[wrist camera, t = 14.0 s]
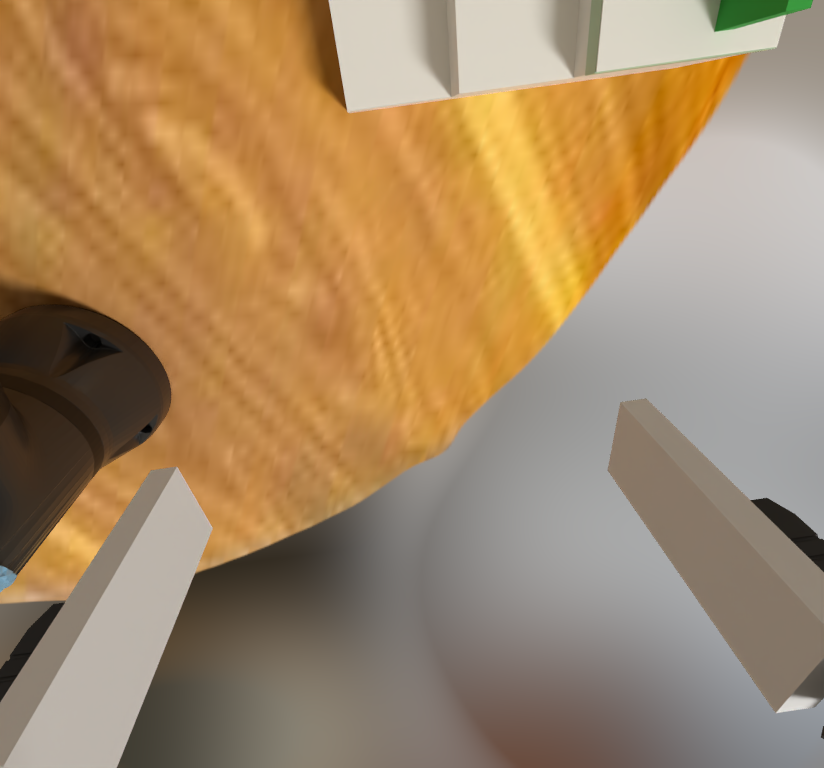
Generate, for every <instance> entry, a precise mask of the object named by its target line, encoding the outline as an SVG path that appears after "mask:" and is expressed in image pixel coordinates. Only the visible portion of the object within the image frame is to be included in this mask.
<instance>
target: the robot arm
mask: <svg viewBox="0 0 824 768" xmlns="http://www.w3.org/2000/svg"><path fill="white" fill-rule="evenodd" d="M170 403H171V388H170V383H169V379H168V376H167V374H166V372H165V370H164V368H163V366H162V364H161V362H160V361H159V359H158V358H157V357H156V355H155V354H154V353H153V352H152V350H151V349H150V348H149V347H148V346H147V345H146V344H145V343H144V342H143V341H142V340H141V339H139V338H138V337H137V336H136V335H135V334H133V333H132V332H131V331H129V330H128V329H126V328H125V327H123V326H122V325H120V324H118V323H116V322H115V321H113V320H111V319H109V318H106V317H104V316H102V315H100V314H97V313H94V312H91V311H88V310H85V309H81V308H77V307H72V306H65V305H38V306H32V307H28V308H25V309H22V310H19V311H17V312H15V313H13V314H11V315H9V316H7V317H5V318H3V319H1V320H0V592H1V591H2V590H3V589H4V588H7V587H8V586H10V585H11V584H12V583H13V582H14V581H15V579H16V577H17V575H18V573H19V572H20V571H21V570H22V568H23V567H24V566H25V564H26V563H27V562H28V561H29V559H30V558H31V557H32V555H33V554H34V553H35V552H36V550H37V549H38V548H39V546H40V545H41V544H42V543H43V541H44V540H45V539H46V537H47V536H48V535H49V534H50V532H51V531H52V530H53V528H54V527H55V526H56V524H57V523H58V522H59V521H60V519H61V518H62V517H63V515H64V514H65V513H66V512H67V510H68V509H69V508H70V506H71V505H72V504H73V503H74V501H75V500H76V499H77V497H78V496H79V495H80V494H81V492H82V491H83V490H84V488H85V487H86V486H87V485H88V483H89V482H90V480H91V479H92V478H93V477H94V476H95V474H96V473H97V472H98V471H99V469H101V468H102V467H104V466H106V465H107V464H109V463H111V462H112V461H114V460H116V459H117V458H119V457H121V456H122V455H124V454H126V453H127V452H129V451H131V450H132V449H134V448H136V447H137V446H139V445H141V444H142V443H143V442H145V441H146V440H147V439H148V438H149V437H150V436H151V435H152V434H153V433H154V432H155V431H156V429H157V428H158V427H159V425H160V424H161V423H162V421H163V420H164V418H165V417H166V415H167V413H168V411H169V408H170ZM608 471H609V473H610V474H611V476H612V477H613V479H614V480H615V482H616V483H617V485H618V486H619V487H620V489H621V490H622V492H623V493H624V495H625V496H626V497H627V499H628V500H629V501H630V503H631V505H632V506H633V508H634V509H635V511H636V512H637V513H638V515H639V516H640V518H641V519H642V520H643V522H644V524H645V525H646V526H647V528H648V529H649V531H650V532H651V534H652V535H653V537H654V538H655V539H656V541H657V542H658V544H659V545H660V547H661V548H662V549H663V551H664V552H665V554H666V555H667V557H668V558H669V559H670V561H671V562H672V564H673V565H674V567H675V568H676V570H677V571H678V573H679V574H680V575H681V577H682V578H683V580H684V581H685V583H686V584H687V586H688V587H689V588H690V590H691V591H692V593H693V594H694V596H695V597H696V599H697V600H698V602H699V603H700V604H701V606H702V607H703V608H704V610H705V612H706V613H707V614H708V616H709V617H710V619H711V620H712V622H713V623H714V625H715V626H716V628H717V629H718V630H719V632H720V633H721V635H722V636H723V637H724V639H725V641H726V642H727V643H728V645H729V646H730V648H731V649H732V651H733V652H734V654H735V655H736V656H737V658H738V659H739V661H740V662H741V664H742V665H743V666H744V668H745V669H746V671H747V672H748V674H749V675H750V677H751V678H752V680H753V681H754V682H755V684H756V685H757V687H758V688H759V690H760V691H761V693H762V694H763V695H764V697H765V698H766V700H767V701H768V702H769V704H770V706H771V707H772V708H773V710H774V711H775V712H776V713H779V712H786V711H792V710H799V709H805V708H812V707H815V706H816V705H817V704H818V703H819V702H820V701H821V700H822V699H823V698H824V540H823V539H819V538H818V535H817V534H816V533H815V532H814V531H813V530H812V529H811V528H810V527H809V526H807V525H806V524H805V523H804V522H803V521H802V520H801V519H800V518H799V517H797V516H796V515H795V514H794V513H792V512H790V511H789V510H787V509H785V508H783V507H782V506H780V505H778V504H777V503H775V502H773V501H771V500H770V499H768V498H763V499H756V500H749V499H748V498H747V497H746V496H745V495H744V494H743V493H742V492H741V491H740V490H739V489H738V488H737V487H736V486H735V485H734V484H733V483H732V482H731V481H730V480H729V479H728V478H727V477H726V476H725V475H724V474H723V473H722V472H721V471H719V469H718V468H716V467H715V465H714V464H713V463H712V462H711V461H709V460H708V459H707V458H706V457H705V456H704V455H703V454H702V453H701V452H700V451H699V450H698V449H697V448H696V447H695V446H694V445H693V444H692V443H691V442H690V441H689V440H688V439H687V438H686V437H685V436H684V435H683V434H682V433H681V432H680V431H679V430H678V429H677V428H676V427H675V426H674V425H673V424H672V423H671V422H670V421H669V420H668V419H667V418H665V416H664V415H663V414H662V413H660V412H659V411H658V410H657V409H656V408H655V407H654V406H653V405H652V404H651V403H650V402H649V401H648V400H647V399H640V400H633V401H626V402H621V403H620V409H619V413H618V418H617V424H616V429H615V435H614V440H613V445H612V451H611V455H610V461H609V466H608ZM212 529H213V528H212V526H211V524H210V523H209V521H208V519H207V518H206V516H205V514H204V512H203V511H202V509H201V507H200V505H199V504H198V502H197V500H196V499H195V497H194V495H193V493H192V492H191V490H190V488H189V486H188V485H187V483H186V481H185V479H184V478H183V476H182V474H181V473H180V471H179V469H178V467H172V468H165V469H158V470H151V471H150V473H149V474H148V476H147V477H146V479H145V481H144V482H143V484H142V485H141V487H140V488H139V490H138V491H137V493H136V494H135V496H134V497H133V499H132V501H131V502H130V504H129V505H128V507H127V508H126V510H125V511H124V513H123V514H122V516H121V517H120V519H119V520H118V522H117V524H116V525H115V527H114V528H113V530H112V531H111V533H110V534H109V536H108V537H107V539H106V540H105V542H104V544H103V545H102V547H101V548H100V550H99V551H98V553H97V554H96V556H95V557H94V559H93V560H92V562H91V564H90V565H89V567H88V568H87V570H86V571H85V573H84V574H83V576H82V577H81V579H80V580H79V582H78V584H77V585H76V587H75V588H74V590H73V591H72V593H71V594H70V596H69V597H68V599H67V600H66V602H65V603H59V604H53V605H52V606H51V607H50V608H49V609H48V610H47V611H46V612H45V613H44V614H43V615H42V616H41V617H40V618H39V619H38V620H37V621H36V622H35V623H34V624H33V625H32V626H31V627H30V628H29V629H28V630H27V632H26V633H25V635H24V636H23V637H22V639H21V640H20V642H19V643H18V645H17V646H16V648H15V649H14V651H13V652H12V653H11V655H10V660H9V661H6V662H5V664H4V665H3V666H2V668H1V669H0V768H117V765H118V763H119V760H120V758H121V755H122V753H123V751H124V748H125V746H126V743H127V741H128V738H129V735H130V733H131V730H132V728H133V726H134V723H135V721H136V718H137V715H138V713H139V711H140V708H141V706H142V703H143V701H144V698H145V696H146V693H147V691H148V688H149V686H150V683H151V680H152V678H153V676H154V673H155V671H156V668H157V666H158V663H159V661H160V658H161V655H162V653H163V651H164V648H165V646H166V643H167V641H168V638H169V635H170V633H171V631H172V628H173V626H174V623H175V621H176V618H177V616H178V613H179V611H180V608H181V606H182V603H183V601H184V598H185V596H186V593H187V591H188V588H189V586H190V583H191V581H192V579H193V576H194V574H195V571H196V569H197V566H198V564H199V561H200V559H201V556H202V554H203V551H204V549H205V546H206V544H207V541H208V539H209V536H210V534H211V531H212ZM821 738H823V739H824V726H823V730H822V735H821Z"/></svg>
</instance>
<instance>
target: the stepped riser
mask: <svg viewBox="0 0 824 768" xmlns="http://www.w3.org/2000/svg"><path fill="white" fill-rule="evenodd" d="M720 2H721V0H329V6H330V12H331V17H332V23H333V29H334V35H335V41H336V47H337V53H338V59H339V65H340V71H341V77H342V83H343V89H344V95H345V100H346V106H347V112H349V113H355V112H362V111H369V110H377V109H384V108H391V107H398V106H405V105H412V104H420V103H427V102H434V101H441V100H448V99H455V98H463V97H470V96H477V95H484V94H491V93H499V92H506V91H513V90H520V89H527V88H534V87H542V86H549V85H556V84H563V83H570V82H578V81H585V80H592V79H599V78H606V77H613V76H621V75H628V74H635V73H642V72H649V71H657V70H664V69H671V68H677V67H682V66H686V65H691V64H696V63H701V62H706V61H711V60H716V59H720V58H725V57H730V56H735V55H740V54H746V53H753V52H759V51H765V50H770V49H774V48H776V47H777V45H778V42H779V38H780V35H781V31H782V27H783V23H784V20H785V17H786V15H783V16H780V17H776V18H772V19H769V20H765V21H762V22H758V23H755V24H751V25H747V26H744V27H740V28H737V29H731V30H725V31H718V32H714V31H715V26H716V21H717V16H718V11H719V7H720Z"/></svg>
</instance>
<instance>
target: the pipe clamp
mask: <svg viewBox="0 0 824 768" xmlns="http://www.w3.org/2000/svg"><path fill="white" fill-rule="evenodd" d="M812 1H813V0H721V2H720V7H719V11H718V16H717V21H716V26H715V31H714V32H718V31H725V30H731V29H737V28H740V27H744V26H747V25H751V24H755V23H758V22H762V21H765V20H769V19H772V18H776V17H780V16H783V15H787V14H790V13H794V12H797V11H801V10H805V9H808V8H811V5H812Z"/></svg>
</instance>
